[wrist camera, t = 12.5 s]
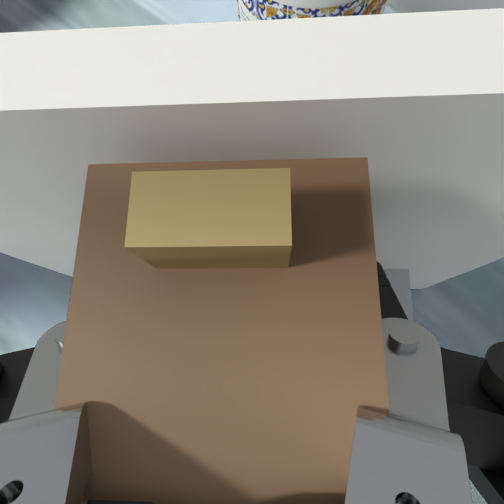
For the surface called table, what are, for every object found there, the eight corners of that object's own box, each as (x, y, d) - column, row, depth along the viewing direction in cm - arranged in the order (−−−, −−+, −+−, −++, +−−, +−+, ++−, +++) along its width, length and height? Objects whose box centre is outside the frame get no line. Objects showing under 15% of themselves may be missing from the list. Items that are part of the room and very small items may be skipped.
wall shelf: (436, 401, 20) (1365, 721, 3) (97, 395, 22) (-627, 598, 4) (413, 205, 23) (809, -195, 6) (117, 210, 25) (-256, -111, 7)
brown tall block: (313, 401, 14) (443, 581, 3) (197, 399, 14) (-37, 559, 4) (308, 276, 15) (390, 109, 5) (202, 277, 16) (43, 120, 5)
